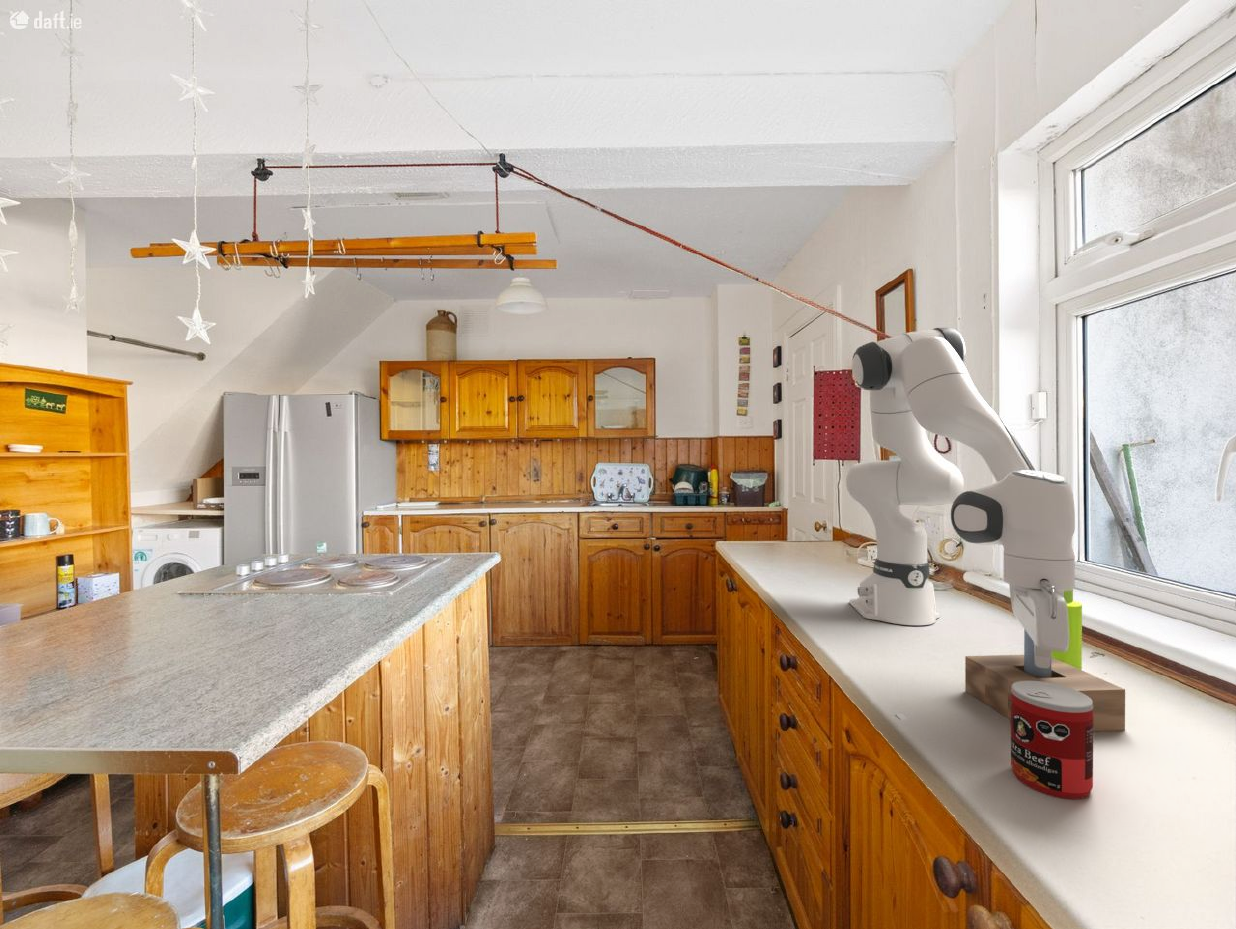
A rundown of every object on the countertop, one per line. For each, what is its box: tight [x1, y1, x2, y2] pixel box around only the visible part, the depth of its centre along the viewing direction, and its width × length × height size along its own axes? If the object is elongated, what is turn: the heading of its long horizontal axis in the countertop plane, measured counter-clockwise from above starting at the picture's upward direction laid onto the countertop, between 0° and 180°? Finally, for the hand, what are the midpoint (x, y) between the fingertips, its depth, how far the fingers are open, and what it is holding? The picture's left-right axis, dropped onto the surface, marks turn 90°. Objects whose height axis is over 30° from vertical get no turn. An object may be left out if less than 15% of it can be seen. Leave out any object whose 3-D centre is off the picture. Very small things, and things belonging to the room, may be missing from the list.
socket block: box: [964, 654, 1126, 732], centre depth 85 cm, size 14×14×6 cm
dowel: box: [1023, 628, 1052, 678], centre depth 85 cm, size 3×3×11 cm
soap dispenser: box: [1052, 589, 1083, 671], centre depth 99 cm, size 6×7×20 cm
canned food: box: [1010, 681, 1094, 800], centre depth 66 cm, size 8×8×11 cm
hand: (1037, 661), depth 85 cm, fingers closed on dowel, 3 cm apart
